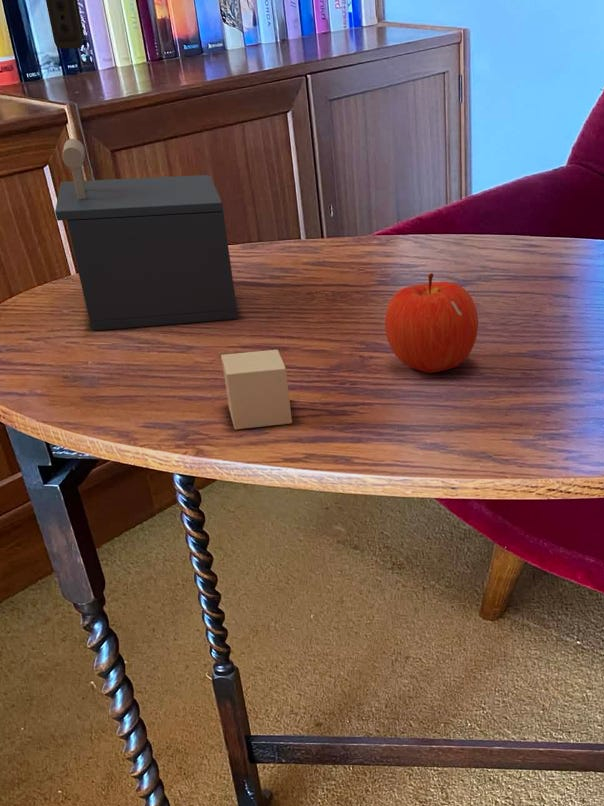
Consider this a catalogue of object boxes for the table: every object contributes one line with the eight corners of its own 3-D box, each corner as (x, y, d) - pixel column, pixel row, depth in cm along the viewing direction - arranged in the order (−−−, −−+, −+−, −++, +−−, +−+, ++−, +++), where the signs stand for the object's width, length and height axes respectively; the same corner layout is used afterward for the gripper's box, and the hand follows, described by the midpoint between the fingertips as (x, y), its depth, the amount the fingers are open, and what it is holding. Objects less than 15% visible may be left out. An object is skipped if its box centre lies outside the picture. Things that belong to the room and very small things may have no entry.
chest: (91, 331, 92) (66, 220, 86) (93, 290, 102) (71, 190, 97) (238, 318, 95) (223, 212, 89) (225, 281, 106) (211, 183, 100)
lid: (57, 220, 86) (42, 156, 83) (62, 190, 96) (49, 132, 93) (223, 211, 89) (215, 149, 86) (211, 183, 100) (203, 127, 97)
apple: (496, 369, 85) (498, 275, 80) (422, 389, 80) (419, 292, 76) (442, 344, 90) (441, 255, 85) (369, 363, 86) (364, 270, 81)
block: (234, 430, 73) (226, 374, 71) (229, 408, 77) (220, 354, 74) (292, 423, 75) (286, 368, 72) (284, 402, 78) (278, 349, 75)
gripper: (-20, -190, 80) (30, 38, 90) (-40, -212, 69) (19, 51, 79) (75, -186, 82) (115, 38, 91) (71, -206, 71) (116, 50, 80)
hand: (71, 44), depth 85 cm, fingers open, 8 cm apart
